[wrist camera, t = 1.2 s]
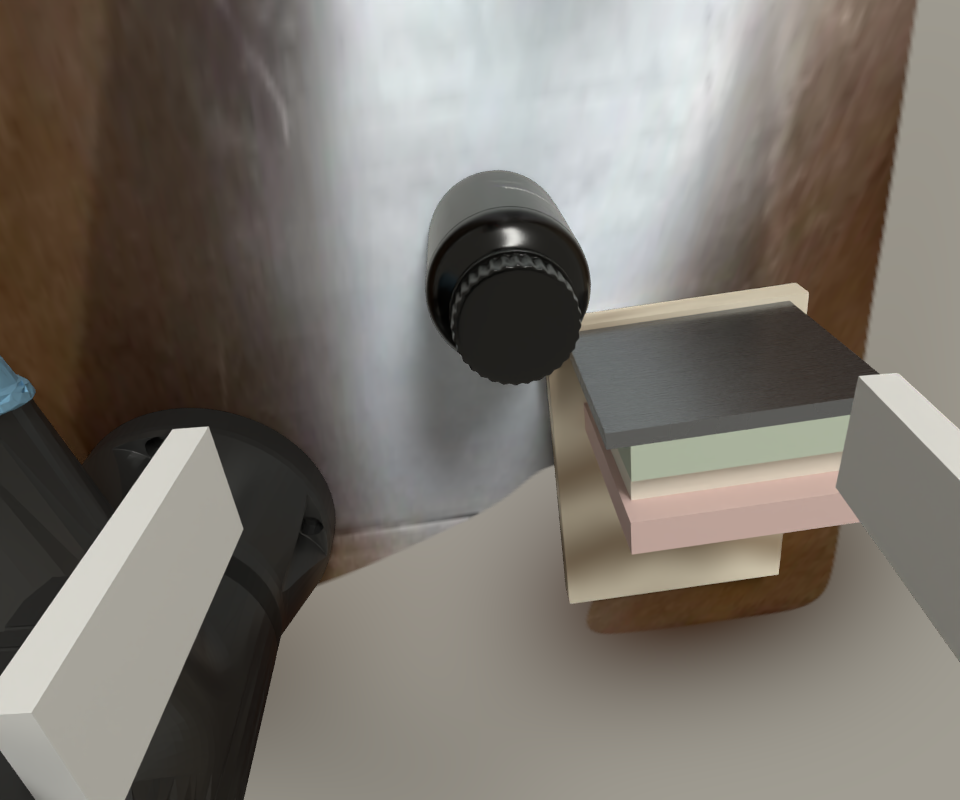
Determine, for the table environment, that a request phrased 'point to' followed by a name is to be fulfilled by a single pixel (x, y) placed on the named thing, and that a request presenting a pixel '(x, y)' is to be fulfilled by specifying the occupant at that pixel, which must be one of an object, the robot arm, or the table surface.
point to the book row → (725, 484)
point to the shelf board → (588, 506)
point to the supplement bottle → (505, 277)
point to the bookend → (713, 374)
